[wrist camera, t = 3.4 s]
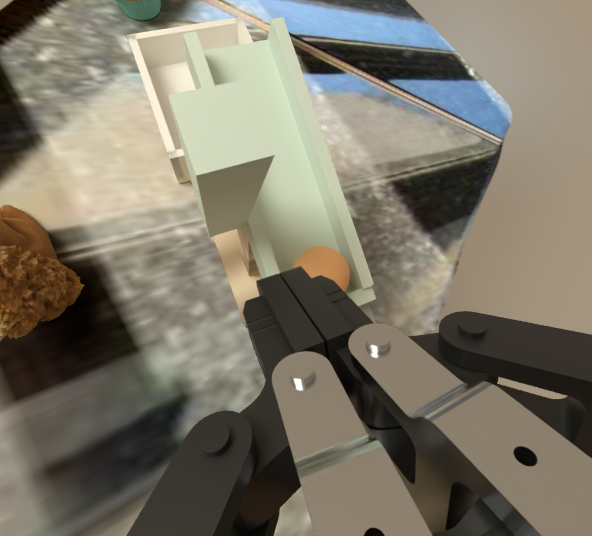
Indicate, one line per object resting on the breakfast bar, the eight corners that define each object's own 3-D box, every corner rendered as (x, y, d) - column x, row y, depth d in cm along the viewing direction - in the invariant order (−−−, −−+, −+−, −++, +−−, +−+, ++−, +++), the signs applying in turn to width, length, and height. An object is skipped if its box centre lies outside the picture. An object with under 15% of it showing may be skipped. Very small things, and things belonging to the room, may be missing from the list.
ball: (279, 289, 22) (295, 307, 19) (292, 236, 22) (312, 245, 18) (327, 297, 23) (350, 316, 20) (341, 248, 23) (367, 258, 19)
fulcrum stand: (335, 292, 35) (371, 258, 25) (245, 326, 33) (242, 305, 22) (293, 196, 38) (309, 129, 28) (207, 221, 36) (189, 158, 25)
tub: (288, 154, 40) (293, 128, 35) (179, 183, 37) (169, 158, 32) (242, 51, 43) (241, 16, 39) (140, 70, 40) (127, 34, 36)
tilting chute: (373, 340, 27) (567, 407, 12) (261, 388, 25) (324, 545, 10) (280, 68, 27) (359, -222, 11) (158, 92, 24) (56, -225, 9)
